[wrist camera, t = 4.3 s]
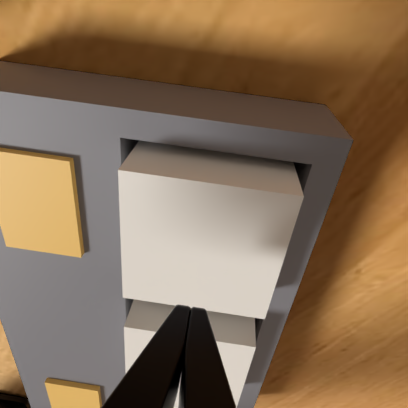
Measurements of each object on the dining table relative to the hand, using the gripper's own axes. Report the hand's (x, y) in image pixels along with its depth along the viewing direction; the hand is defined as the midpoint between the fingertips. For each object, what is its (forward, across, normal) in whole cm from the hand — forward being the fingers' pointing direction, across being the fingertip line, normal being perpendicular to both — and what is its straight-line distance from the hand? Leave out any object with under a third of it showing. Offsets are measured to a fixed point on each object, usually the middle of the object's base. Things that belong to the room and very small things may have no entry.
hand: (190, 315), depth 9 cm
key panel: (+8, +3, +7) cm, 11 cm away
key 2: (+5, 0, 0) cm, 5 cm away
